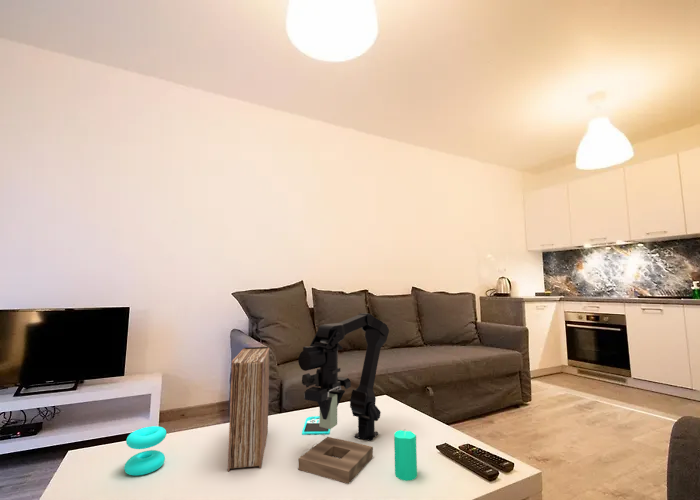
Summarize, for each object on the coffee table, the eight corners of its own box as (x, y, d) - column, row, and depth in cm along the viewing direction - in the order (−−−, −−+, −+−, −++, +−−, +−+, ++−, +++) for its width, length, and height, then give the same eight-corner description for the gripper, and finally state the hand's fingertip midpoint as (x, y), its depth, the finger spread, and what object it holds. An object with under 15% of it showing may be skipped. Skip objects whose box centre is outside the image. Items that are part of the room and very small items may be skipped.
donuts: (163, 435, 95) (122, 441, 91) (161, 473, 94) (119, 480, 90) (169, 422, 104) (131, 427, 101) (167, 457, 103) (129, 463, 99)
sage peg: (326, 422, 108) (326, 392, 109) (337, 424, 106) (337, 394, 107) (319, 426, 104) (319, 396, 105) (330, 429, 102) (330, 398, 103)
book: (261, 469, 96) (263, 360, 99) (227, 472, 94) (231, 361, 98) (267, 432, 121) (269, 346, 124) (241, 434, 119) (243, 347, 123)
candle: (417, 481, 89) (415, 433, 90) (394, 479, 90) (393, 432, 92) (417, 470, 95) (415, 425, 96) (395, 468, 96) (394, 423, 97)
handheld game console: (332, 419, 134) (332, 415, 135) (330, 436, 118) (330, 432, 119) (306, 419, 134) (306, 415, 134) (301, 436, 118) (301, 432, 119)
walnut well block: (327, 446, 109) (327, 436, 110) (372, 457, 102) (372, 446, 103) (298, 469, 95) (298, 458, 96) (348, 483, 88) (348, 471, 88)
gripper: (323, 358, 119) (323, 404, 117) (290, 368, 103) (289, 422, 101) (351, 361, 114) (351, 409, 112) (320, 372, 98) (320, 429, 96)
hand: (328, 417), depth 105 cm, fingers closed on sage peg, 4 cm apart
